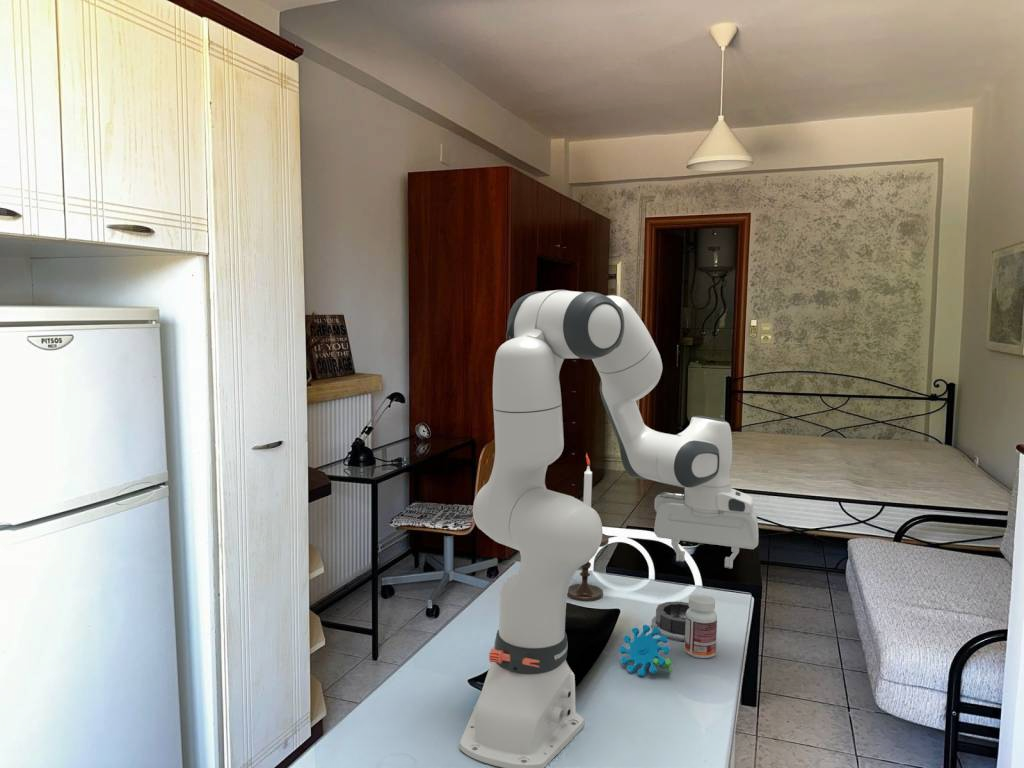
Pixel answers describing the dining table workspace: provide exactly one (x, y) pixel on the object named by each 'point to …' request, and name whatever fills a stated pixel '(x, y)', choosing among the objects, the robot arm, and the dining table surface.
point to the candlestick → (584, 589)
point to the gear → (646, 651)
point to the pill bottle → (701, 626)
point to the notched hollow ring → (671, 620)
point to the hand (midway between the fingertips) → (704, 563)
